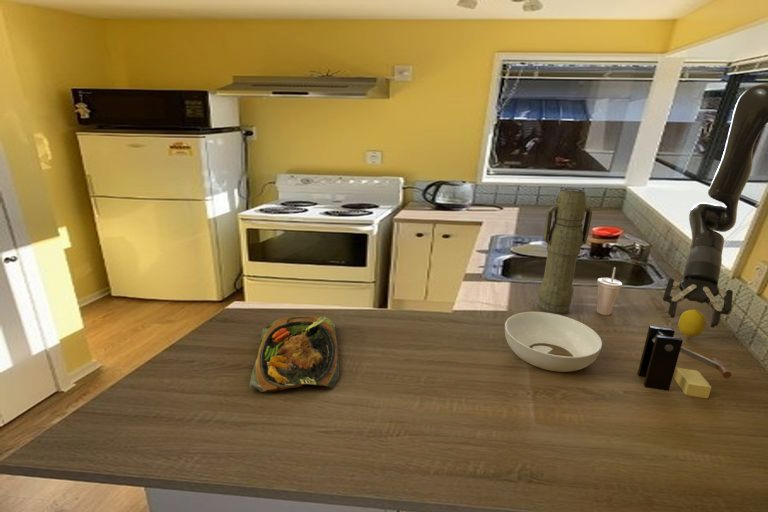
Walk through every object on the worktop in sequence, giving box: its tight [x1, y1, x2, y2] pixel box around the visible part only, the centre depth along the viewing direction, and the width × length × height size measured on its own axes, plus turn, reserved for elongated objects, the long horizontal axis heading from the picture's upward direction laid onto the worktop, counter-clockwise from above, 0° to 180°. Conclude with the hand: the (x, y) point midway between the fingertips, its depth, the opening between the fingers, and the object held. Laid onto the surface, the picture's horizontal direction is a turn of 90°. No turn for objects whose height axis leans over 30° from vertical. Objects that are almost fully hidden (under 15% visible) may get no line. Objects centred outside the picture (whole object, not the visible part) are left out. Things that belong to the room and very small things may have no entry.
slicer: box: [637, 325, 684, 392], centre depth 87 cm, size 8×9×13 cm
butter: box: [673, 367, 712, 399], centre depth 87 cm, size 6×9×4 cm, turn 166°
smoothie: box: [596, 266, 623, 316], centre depth 121 cm, size 6×6×14 cm
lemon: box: [677, 308, 706, 339], centre depth 109 cm, size 6×6×8 cm
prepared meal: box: [248, 316, 340, 393], centre depth 97 cm, size 28×4×18 cm
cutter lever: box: [652, 331, 732, 379], centre depth 85 cm, size 14×5×2 cm, turn 75°
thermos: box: [537, 187, 593, 315], centre depth 120 cm, size 9×12×35 cm
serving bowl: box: [504, 311, 603, 373], centre depth 98 cm, size 21×21×7 cm
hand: (692, 321), depth 108 cm, fingers open, 8 cm apart
